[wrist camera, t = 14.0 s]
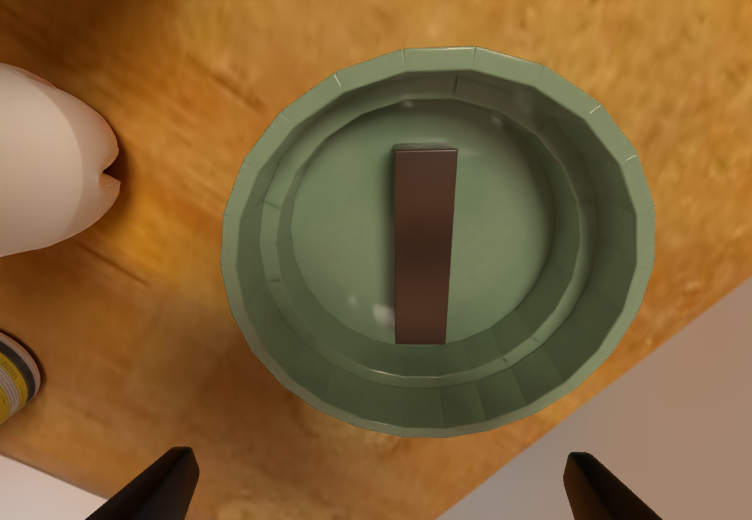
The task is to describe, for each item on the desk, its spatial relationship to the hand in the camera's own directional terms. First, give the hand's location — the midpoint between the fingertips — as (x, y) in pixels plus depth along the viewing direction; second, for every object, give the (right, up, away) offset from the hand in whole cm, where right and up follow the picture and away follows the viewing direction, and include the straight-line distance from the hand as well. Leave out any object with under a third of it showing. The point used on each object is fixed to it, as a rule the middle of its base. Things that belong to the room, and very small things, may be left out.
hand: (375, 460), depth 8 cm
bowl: (+2, +6, +9) cm, 11 cm away
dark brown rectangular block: (+2, +6, +9) cm, 11 cm away
